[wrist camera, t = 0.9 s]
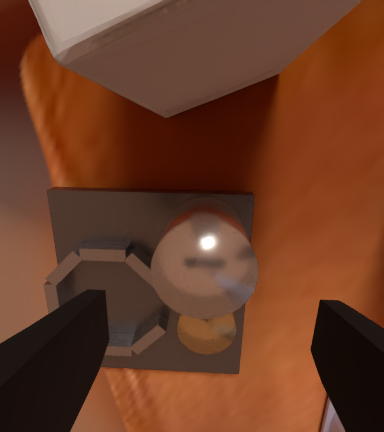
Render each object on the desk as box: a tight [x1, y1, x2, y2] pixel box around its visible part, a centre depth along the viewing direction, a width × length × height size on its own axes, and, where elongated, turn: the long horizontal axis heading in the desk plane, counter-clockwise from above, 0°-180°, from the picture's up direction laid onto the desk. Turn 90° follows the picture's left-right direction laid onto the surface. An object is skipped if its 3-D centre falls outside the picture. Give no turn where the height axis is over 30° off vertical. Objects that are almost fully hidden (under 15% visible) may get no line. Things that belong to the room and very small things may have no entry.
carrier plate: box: [44, 187, 255, 374], centre depth 18 cm, size 14×13×4 cm
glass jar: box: [151, 197, 258, 319], centre depth 15 cm, size 5×5×5 cm
